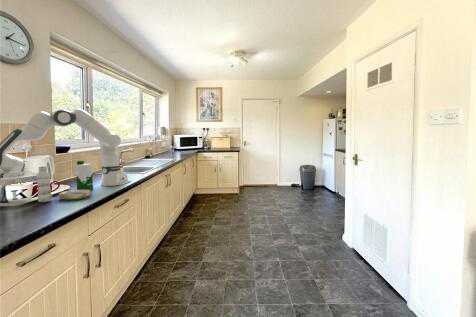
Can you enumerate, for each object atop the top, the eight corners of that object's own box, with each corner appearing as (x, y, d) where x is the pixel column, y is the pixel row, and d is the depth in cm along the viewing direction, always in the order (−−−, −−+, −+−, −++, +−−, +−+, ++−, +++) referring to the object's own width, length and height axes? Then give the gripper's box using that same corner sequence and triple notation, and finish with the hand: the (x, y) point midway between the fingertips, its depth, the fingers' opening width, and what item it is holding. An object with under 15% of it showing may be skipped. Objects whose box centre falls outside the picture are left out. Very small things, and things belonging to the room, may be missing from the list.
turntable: (77, 191, 162) (77, 188, 162) (96, 193, 157) (96, 190, 157) (52, 197, 147) (52, 194, 146) (73, 200, 142) (72, 196, 142)
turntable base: (76, 195, 159) (76, 192, 159) (91, 196, 156) (91, 194, 156) (58, 199, 148) (58, 197, 148) (73, 201, 144) (73, 198, 144)
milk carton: (82, 188, 177) (81, 160, 175) (95, 188, 177) (94, 160, 175) (74, 191, 169) (72, 161, 167) (87, 191, 168) (86, 161, 167)
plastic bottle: (44, 203, 139) (42, 168, 137) (34, 203, 141) (32, 167, 139) (55, 200, 145) (53, 166, 144) (45, 200, 147) (43, 166, 145)
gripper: (-7, 176, 139) (10, 177, 135) (33, 171, 158) (49, 172, 154) (-6, 187, 140) (11, 189, 135) (33, 180, 159) (49, 182, 155)
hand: (31, 180), depth 145 cm, fingers open, 8 cm apart
